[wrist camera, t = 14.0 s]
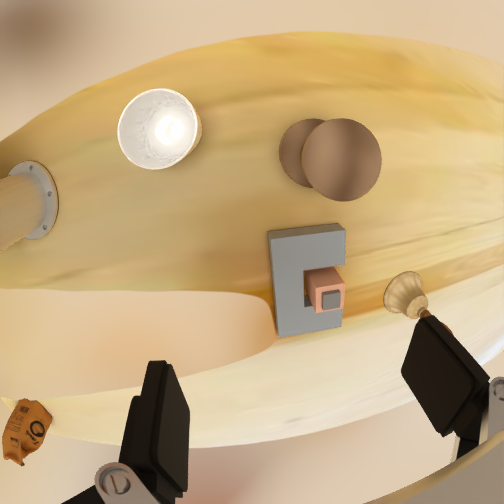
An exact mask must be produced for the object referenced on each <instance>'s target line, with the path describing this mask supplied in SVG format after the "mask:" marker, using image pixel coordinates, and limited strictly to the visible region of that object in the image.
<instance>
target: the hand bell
mask: <svg viewBox="0 0 504 504" xmlns="http://www.w3.org/2000/svg"><path fill="white" fill-rule="evenodd" d="M384 305H385V307H386V309H387V310H388V311H390V312H393V313H404V314H405V315H406V316H407V317H409V318H410V319H416V318H419V317H420V318H423V317H426V316H429V315H431V313H429V311H428V310H427V307H428V299H427V297H426V296H425V295H424V293H423V292H422V280H421V278H420V276H419V275H418V274H417V273H415V272H411V271H410V272H404V273H402V274H400V275H398V276H397V277H395V278H394V279H393V280H392V281H391V283H390V284H389V285H388V287H387V289H386V291H385V294H384ZM441 323H442V322H441ZM442 324H443V323H442ZM443 325H444V326H445V327H446V328H447V329H448V331H449V332H450V333H451V334H452V335H453V333H452V331H451V330H450V329H449V328H448V327H447V326H446V325H445V324H443ZM453 336H454V335H453Z"/></svg>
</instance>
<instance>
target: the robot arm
mask: <svg viewBox="0 0 504 504" xmlns="http://www.w3.org/2000/svg"><path fill="white" fill-rule="evenodd" d="M57 211H58V196H57V191H56V187H55V184H54V181H53V179H52V177H51V175H50V174H49V172H48V171H47V170H46V169H45V168H44V167H43V166H42V165H41V164H39V163H37V162H34V161H25V162H21V163H19V164H17V165H16V166H15V167H13V168H12V170H11V171H10V172H9V174H8V176H7V177H5V178H2V179H0V253H1V252H3V251H4V250H6V249H7V248H8V247H10V246H11V245H13V244H14V243H16V242H17V241H19V240H20V239H22V238H26V239H30V240H35V239H39V238H41V237H43V236H44V235H46V234H47V233H48V232H49V231H50V230H51V228H52V227H53V225H54V223H55V220H56V216H57ZM401 374H402V376H403V378H404V380H405V381H406V383H407V384H408V386H409V387H410V389H411V391H412V392H413V394H414V395H415V397H416V399H417V400H418V402H419V403H420V405H421V407H422V408H423V410H424V412H425V413H426V415H427V417H428V418H429V420H430V422H431V423H432V425H433V427H434V428H435V430H436V431H437V432H438V433H440V434H441V435H442V437H445V436H446V435H448V434H450V433H452V432H453V431H454V432H455V433H456V437H455V443H454V448H453V453H452V457H451V462H450V464H449V465H447V466H445V467H444V468H442V469H440V470H439V471H437V472H435V473H433V474H431V475H429V476H427V477H425V478H423V479H421V480H419V481H417V482H415V483H413V484H411V485H409V486H407V487H404V488H402V489H400V490H398V491H395V492H393V493H391V494H388V495H386V496H383V497H381V498H378V499H376V500H372V501H370V502H367V503H364V504H504V377H497V378H494V379H493V380H492V381H491V383H489V382H488V381H489V379H490V377H489V376H488V375H487V373H486V372H485V371H484V370H483V369H482V367H481V366H480V365H479V364H478V363H477V361H476V360H475V359H474V358H473V357H472V356H471V355H470V354H469V352H468V351H467V350H466V349H465V348H464V347H463V346H462V345H461V343H460V342H459V341H458V340H457V339H456V338H455V337H454V336H453V335H452V334H451V333H450V332H449V331H448V329H447V328H446V327H445V326H444V325H443V324H442V323H441V322H440V321H439V320H438V319H437V318H436V317H435V316H434V315H429V316H426V317H423V318H420V319H419V321H418V323H417V324H416V326H415V329H414V332H413V335H412V339H411V342H410V345H409V348H408V351H407V354H406V357H405V360H404V363H403V365H402V368H401ZM189 425H190V410H189V407H188V404H187V402H186V399H185V397H184V395H183V392H182V390H181V387H180V385H179V382H178V380H177V377H176V375H175V372H174V369H173V366H172V365H171V364H167V362H166V361H165V360H161V361H149V363H148V366H147V371H146V374H145V379H144V383H143V387H142V391H141V396H134V397H133V398H132V401H131V405H130V409H129V413H128V417H127V422H126V427H125V431H124V436H123V441H122V446H121V451H120V456H119V462H113V463H108V464H105V465H104V466H102V467H101V468H99V470H98V471H97V473H96V475H95V485H93V486H92V487H90V488H88V489H87V490H85V491H83V492H81V493H80V494H78V495H76V496H74V497H73V498H71V499H69V500H67V501H65V502H63V503H62V504H175V497H179V498H182V497H183V492H186V491H187V489H188V449H189Z"/></svg>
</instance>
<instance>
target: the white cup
mask: <svg viewBox="0 0 504 504" xmlns="http://www.w3.org/2000/svg"><path fill="white" fill-rule="evenodd" d="M117 133H118V141H119V145H120V147H121V150H122V151H123V153H124V155H125V156H126V157H127V158H128V159H129V160H130V161H131V162H132V163H134V164H135V165H137V166H139V167H142V168H145V169H151V170H157V169H163V168H167V167H170V166H172V165H174V164H176V163H177V162H179V161H180V160H181V159H183V158H184V157H186V156H187V155H188V154H189V153H191V152H192V151H193V149H194V148H195V147H196V146H197V145H198V143H199V140H200V138H201V135H202V123H201V120H200V117H199V115H198V113H197V111H196V110H195V108H194V107H193V106H192V105H191V103H190V102H189V101H188V100H187V99H186V98H185V97H184V96H183V95H181V94H180V93H178V92H176V91H173V90H170V89H164V88H158V89H152V90H148V91H145V92H143V93H141V94H139V95H138V96H136V97H135V98H134V99H133V100H131V101H130V102H129V104H128V105H127V106H126V107H125V109H124V110H123V112H122V114H121V117H120V119H119V123H118V132H117Z"/></svg>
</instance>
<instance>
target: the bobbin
mask: <svg viewBox="0 0 504 504" xmlns="http://www.w3.org/2000/svg"><path fill="white" fill-rule="evenodd" d="M279 156H280V161H281V164H282V167H283V169H284V170H285V172H286V173H287V174H288V176H289V177H290V178H291V179H293V180H294V181H296V182H297V183H299V184H301V185H303V186H306V187H310V188H314V189H315V190H316V191H318V192H319V193H320V194H322V195H323V196H325V197H327V198H329V199H332V200H335V201H352V200H355V199H358V198H360V197H362V196H363V195H365V194H366V193H367V192H369V190H370V189H371V188H372V187H373V186H374V184H375V183H376V181H377V179H378V177H379V174H380V170H381V161H382V159H381V151H380V148H379V145H378V142H377V140H376V138H375V137H374V135H373V134H372V133H371V132H370V131H369V130H368V129H367V128H366V127H365V126H364V125H362V124H360V123H359V122H356V121H354V120H350V119H343V118H341V119H332V120H328V121H324V120H320V119H307V120H303V121H300V122H298V123H296V124H294V125H293V126H291V127H290V128H289V129H288V130H287V131H286V133H285V134H284V136H283V138H282V140H281V143H280V149H279Z"/></svg>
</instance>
